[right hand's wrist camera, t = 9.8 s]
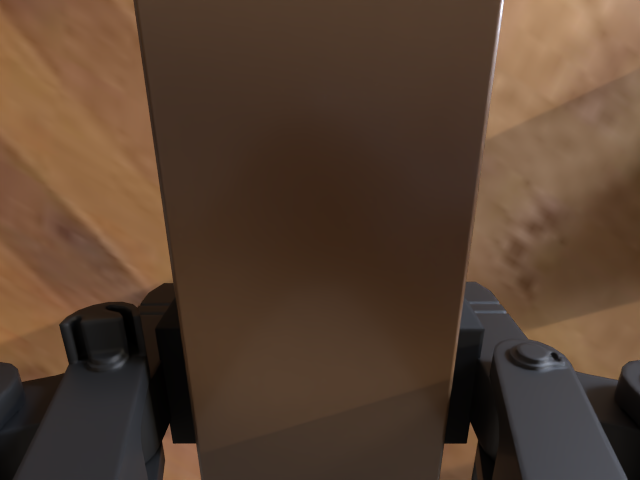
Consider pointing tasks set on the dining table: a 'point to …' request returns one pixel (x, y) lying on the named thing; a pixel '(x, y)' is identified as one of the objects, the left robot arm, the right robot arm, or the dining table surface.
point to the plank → (319, 222)
